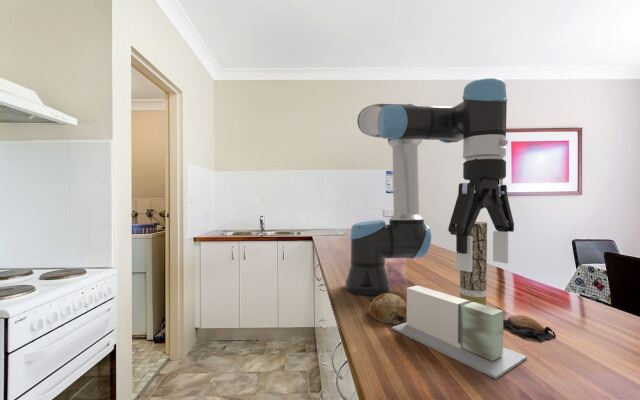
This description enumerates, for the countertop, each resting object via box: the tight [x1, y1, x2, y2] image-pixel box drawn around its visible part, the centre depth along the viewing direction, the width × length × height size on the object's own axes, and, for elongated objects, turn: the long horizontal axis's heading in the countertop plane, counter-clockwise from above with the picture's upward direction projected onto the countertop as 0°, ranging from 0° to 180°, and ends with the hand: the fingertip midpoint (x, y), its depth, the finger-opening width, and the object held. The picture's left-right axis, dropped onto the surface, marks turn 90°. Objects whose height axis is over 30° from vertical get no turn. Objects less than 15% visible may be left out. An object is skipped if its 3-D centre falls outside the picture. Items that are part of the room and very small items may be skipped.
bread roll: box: [368, 292, 407, 325], centre depth 80 cm, size 10×10×8 cm
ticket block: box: [391, 285, 528, 380], centre depth 66 cm, size 24×12×10 cm, turn 34°
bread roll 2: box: [503, 314, 557, 343], centre depth 72 cm, size 11×8×4 cm
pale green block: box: [462, 302, 504, 361], centre depth 61 cm, size 6×4×9 cm, turn 34°
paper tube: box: [459, 219, 488, 306], centre depth 87 cm, size 7×7×25 cm
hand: (483, 266), depth 60 cm, fingers open, 13 cm apart
